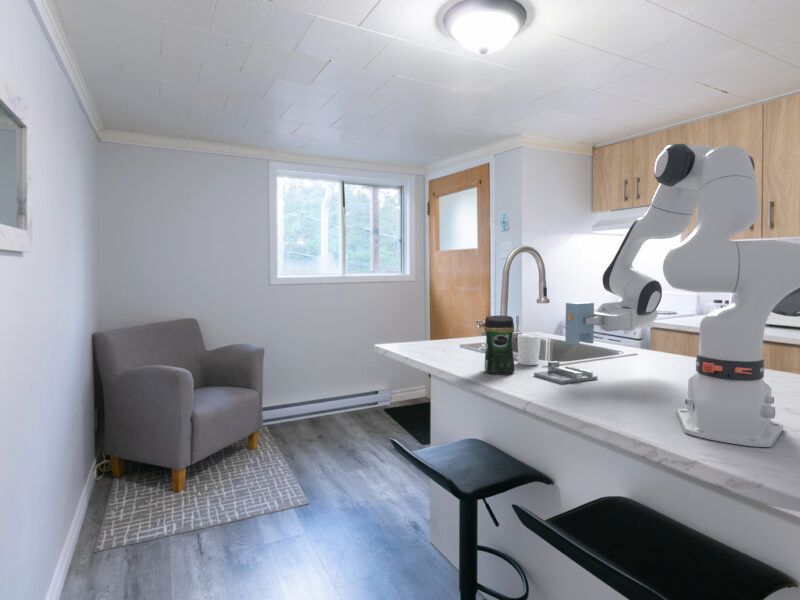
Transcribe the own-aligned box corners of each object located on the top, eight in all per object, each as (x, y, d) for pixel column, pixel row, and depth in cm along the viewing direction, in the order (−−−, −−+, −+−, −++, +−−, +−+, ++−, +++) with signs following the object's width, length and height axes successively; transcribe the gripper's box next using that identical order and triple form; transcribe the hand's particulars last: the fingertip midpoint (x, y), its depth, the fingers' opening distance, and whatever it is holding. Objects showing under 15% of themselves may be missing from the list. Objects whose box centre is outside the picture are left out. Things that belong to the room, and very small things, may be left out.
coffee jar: (512, 369, 155) (512, 314, 154) (515, 375, 147) (516, 316, 146) (483, 369, 156) (483, 314, 155) (485, 374, 148) (485, 316, 147)
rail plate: (597, 379, 141) (597, 366, 141) (561, 384, 135) (562, 370, 135) (567, 371, 152) (568, 359, 152) (534, 375, 146) (534, 363, 146)
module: (593, 343, 138) (593, 302, 137) (575, 345, 135) (575, 304, 134) (581, 341, 142) (582, 301, 141) (563, 343, 139) (564, 303, 138)
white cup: (544, 363, 166) (544, 335, 165) (533, 366, 160) (534, 337, 159) (524, 360, 171) (524, 333, 170) (513, 363, 165) (513, 335, 165)
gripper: (585, 304, 153) (552, 306, 147) (640, 309, 134) (604, 312, 128) (585, 323, 153) (552, 326, 147) (639, 331, 134) (604, 334, 129)
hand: (577, 319), depth 138 cm, fingers closed on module, 4 cm apart
